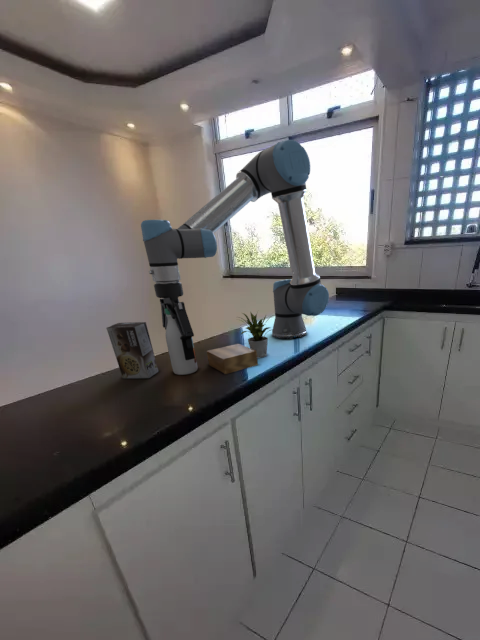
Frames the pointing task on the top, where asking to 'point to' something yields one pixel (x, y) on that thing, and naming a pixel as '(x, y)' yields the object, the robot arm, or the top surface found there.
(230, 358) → the oak block
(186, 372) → the milk bottle
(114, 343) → the food box
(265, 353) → the house plant
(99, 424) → the top surface
